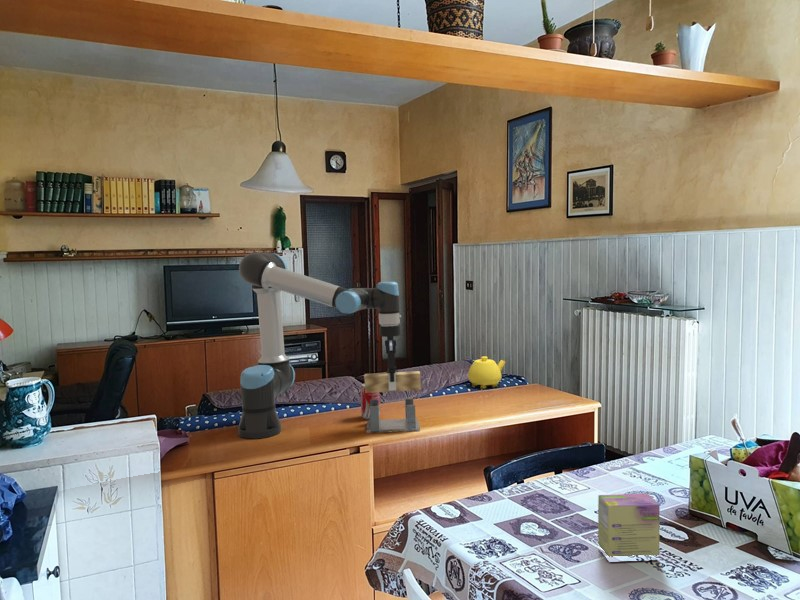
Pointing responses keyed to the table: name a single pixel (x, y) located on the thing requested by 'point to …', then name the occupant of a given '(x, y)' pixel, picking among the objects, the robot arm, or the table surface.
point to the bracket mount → (394, 424)
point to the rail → (403, 382)
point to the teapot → (485, 372)
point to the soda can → (367, 402)
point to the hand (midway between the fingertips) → (392, 388)
